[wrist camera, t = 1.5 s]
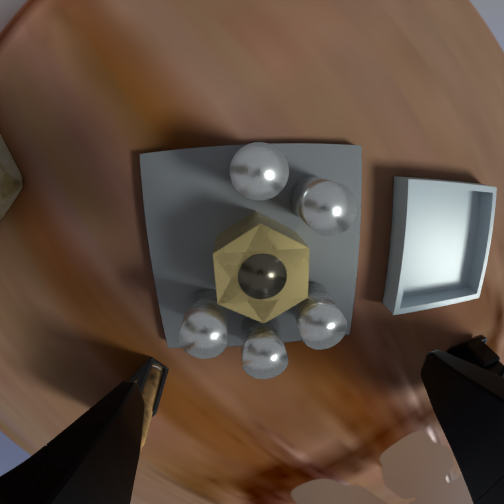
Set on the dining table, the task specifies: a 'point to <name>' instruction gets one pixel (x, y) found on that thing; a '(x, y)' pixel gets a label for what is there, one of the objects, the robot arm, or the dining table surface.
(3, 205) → the urn
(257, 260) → the brass nut
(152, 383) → the ammunition clip
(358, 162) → the spacer board
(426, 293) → the tray
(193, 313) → the spacer posts
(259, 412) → the dining table surface
